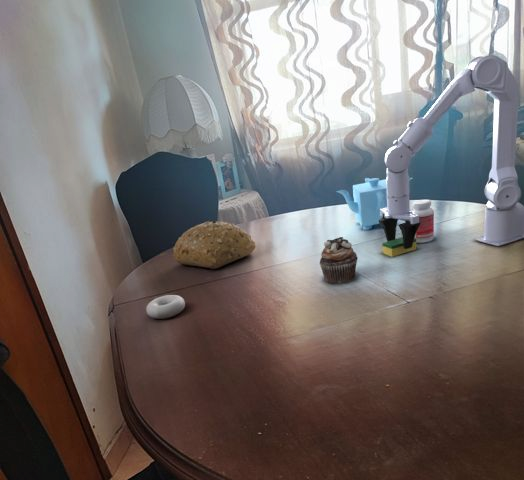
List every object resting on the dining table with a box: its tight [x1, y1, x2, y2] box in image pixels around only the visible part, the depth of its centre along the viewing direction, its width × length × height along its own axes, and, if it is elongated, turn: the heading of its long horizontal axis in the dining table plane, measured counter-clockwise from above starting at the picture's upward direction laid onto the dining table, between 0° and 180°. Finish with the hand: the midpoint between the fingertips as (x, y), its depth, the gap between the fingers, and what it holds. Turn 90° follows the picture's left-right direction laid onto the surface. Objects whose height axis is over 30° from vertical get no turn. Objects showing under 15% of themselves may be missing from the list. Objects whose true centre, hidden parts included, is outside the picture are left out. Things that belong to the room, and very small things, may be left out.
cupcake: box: [319, 236, 358, 284], centre depth 118 cm, size 10×10×10 cm
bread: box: [172, 220, 256, 270], centre depth 150 cm, size 24×21×12 cm
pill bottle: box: [411, 199, 435, 244], centre depth 132 cm, size 6×6×11 cm
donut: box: [145, 294, 186, 320], centre depth 118 cm, size 10×4×10 cm
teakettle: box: [335, 177, 414, 231], centre depth 154 cm, size 19×19×15 cm
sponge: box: [381, 236, 417, 258], centre depth 129 cm, size 8×4×3 cm, turn 111°
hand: (399, 245), depth 129 cm, fingers open, 7 cm apart
